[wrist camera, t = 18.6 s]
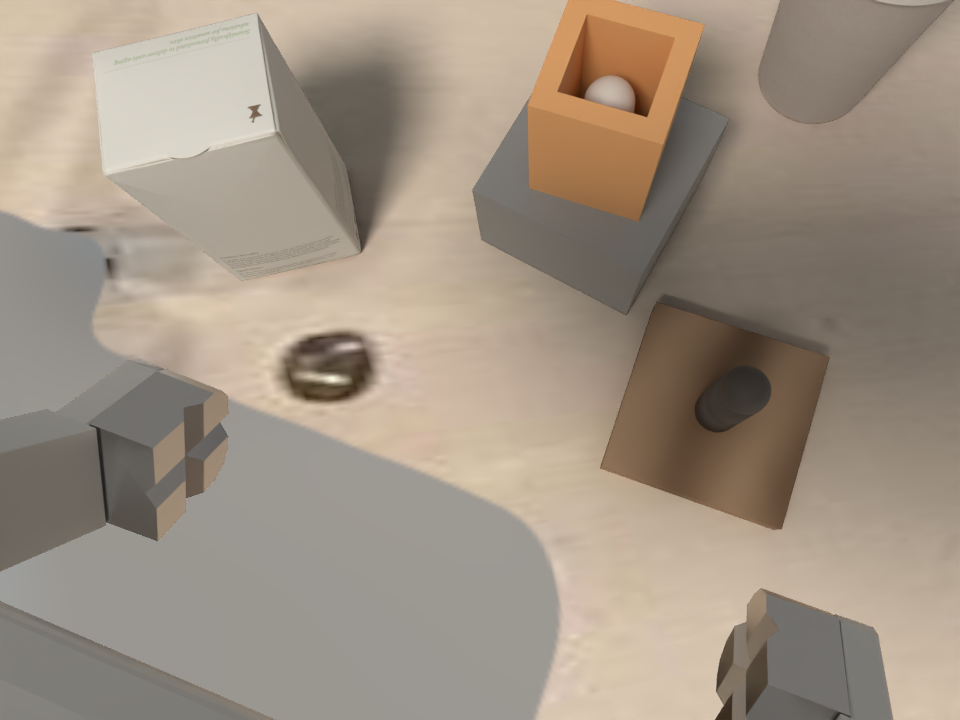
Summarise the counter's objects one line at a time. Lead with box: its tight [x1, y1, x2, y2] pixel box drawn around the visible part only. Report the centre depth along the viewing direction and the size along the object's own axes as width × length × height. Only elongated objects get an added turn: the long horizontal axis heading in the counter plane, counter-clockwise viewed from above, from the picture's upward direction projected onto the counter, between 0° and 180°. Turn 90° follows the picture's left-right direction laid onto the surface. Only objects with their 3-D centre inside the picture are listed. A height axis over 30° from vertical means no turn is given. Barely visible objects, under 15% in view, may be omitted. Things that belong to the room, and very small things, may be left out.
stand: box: [600, 302, 830, 530], centre depth 40 cm, size 10×10×9 cm
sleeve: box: [527, 0, 704, 222], centre depth 37 cm, size 6×6×8 cm
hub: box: [473, 75, 729, 315], centre depth 42 cm, size 10×10×13 cm
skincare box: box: [92, 13, 361, 281], centre depth 42 cm, size 8×7×16 cm
